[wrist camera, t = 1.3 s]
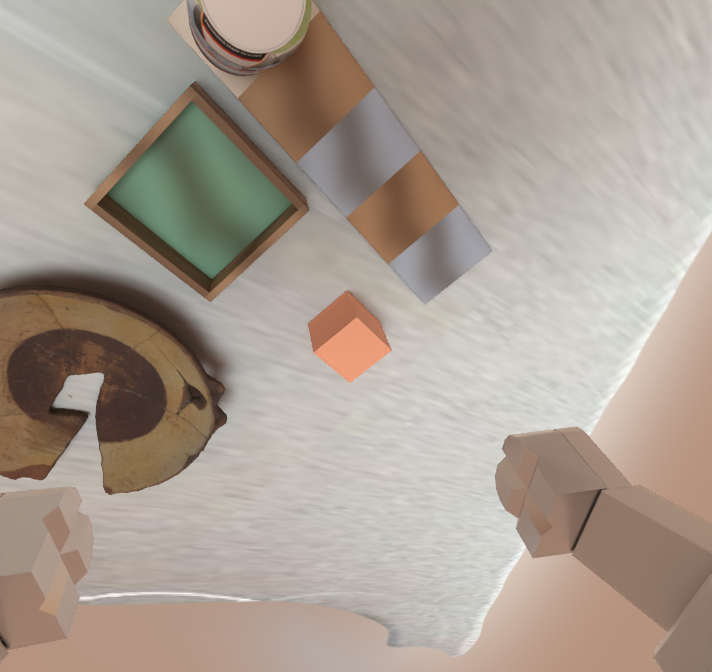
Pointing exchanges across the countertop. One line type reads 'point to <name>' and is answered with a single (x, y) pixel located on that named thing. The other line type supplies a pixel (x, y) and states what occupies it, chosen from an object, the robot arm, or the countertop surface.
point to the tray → (199, 196)
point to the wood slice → (117, 395)
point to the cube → (348, 337)
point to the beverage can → (248, 32)
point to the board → (358, 156)
